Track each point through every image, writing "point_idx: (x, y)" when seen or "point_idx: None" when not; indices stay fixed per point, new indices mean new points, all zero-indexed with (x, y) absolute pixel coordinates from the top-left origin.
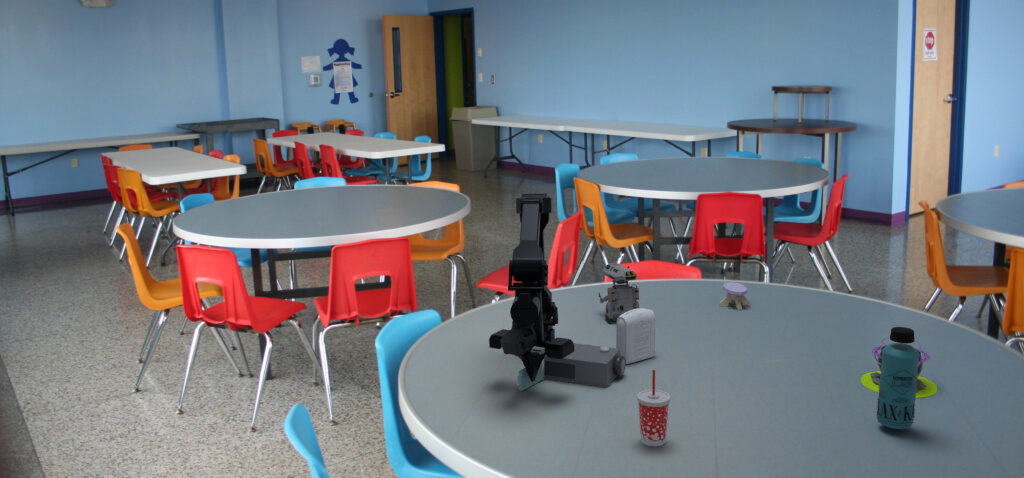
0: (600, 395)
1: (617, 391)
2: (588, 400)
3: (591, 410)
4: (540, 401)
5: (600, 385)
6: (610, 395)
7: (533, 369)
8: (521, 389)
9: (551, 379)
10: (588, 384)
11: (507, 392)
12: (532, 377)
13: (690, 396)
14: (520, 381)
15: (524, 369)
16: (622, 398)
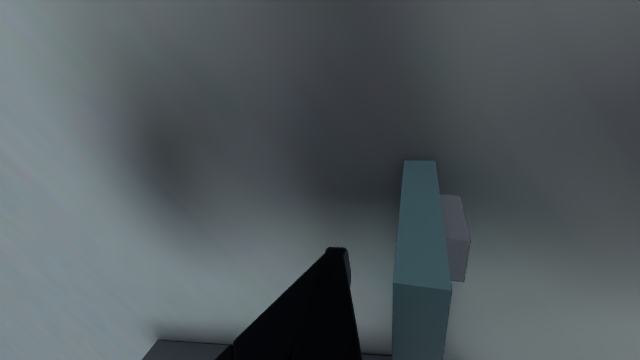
0: (115, 285)
1: (117, 325)
2: (96, 233)
3: (7, 158)
4: (203, 102)
5: (172, 346)
6: (101, 295)
7: (235, 341)
8: (409, 165)
9: (367, 355)
10: (211, 346)
11: (526, 85)
12: (307, 270)
13: (21, 343)
14: (416, 201)
15: (410, 350)
16: (66, 288)
